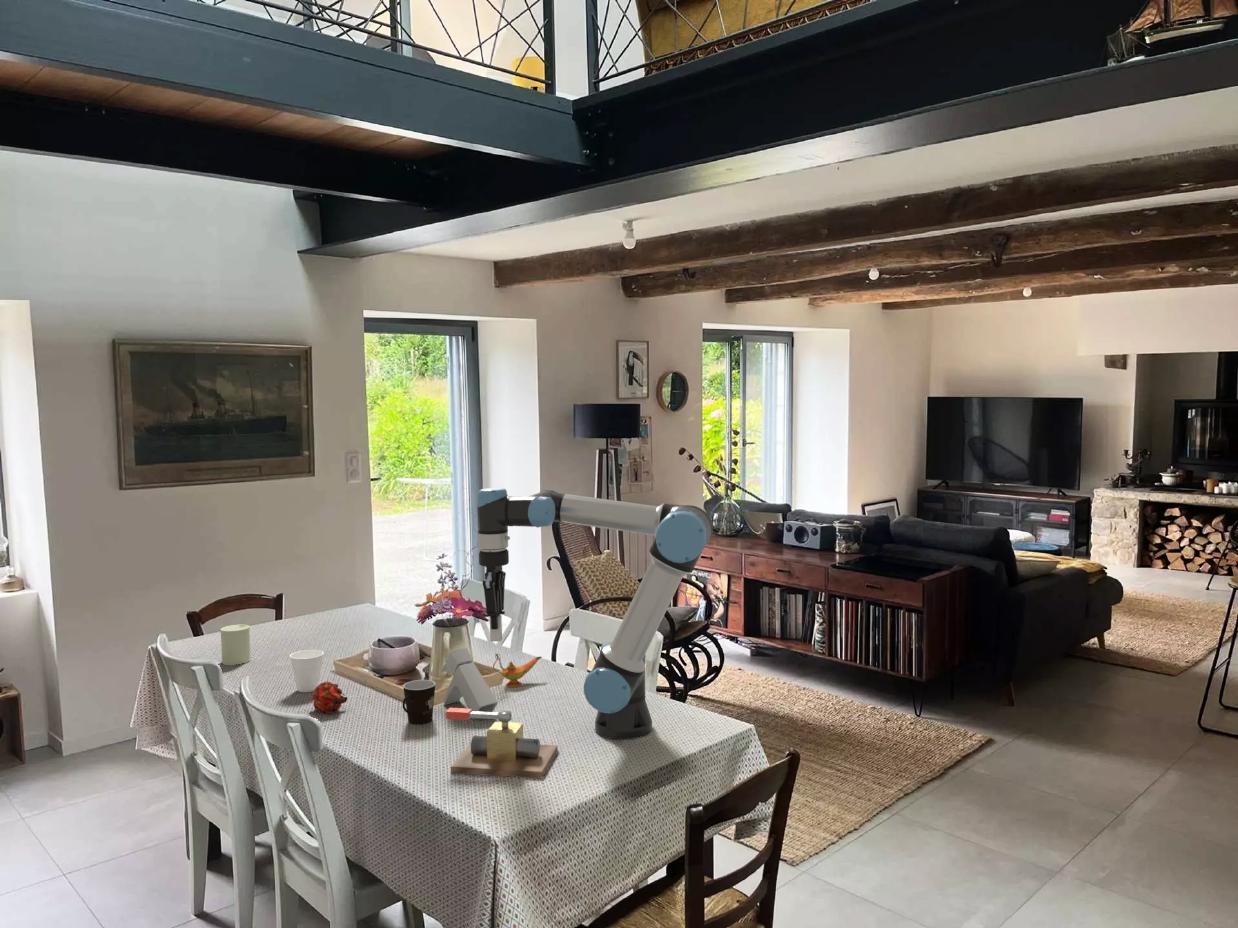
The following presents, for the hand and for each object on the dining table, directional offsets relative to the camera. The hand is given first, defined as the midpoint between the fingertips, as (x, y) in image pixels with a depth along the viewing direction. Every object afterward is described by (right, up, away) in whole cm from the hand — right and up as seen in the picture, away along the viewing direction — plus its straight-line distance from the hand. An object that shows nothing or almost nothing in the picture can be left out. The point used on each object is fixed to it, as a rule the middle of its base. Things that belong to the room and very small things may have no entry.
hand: (496, 640), depth 233 cm
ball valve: (+4, -25, -13) cm, 29 cm away
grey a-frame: (-11, -25, +24) cm, 36 cm away
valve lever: (-2, -17, -12) cm, 21 cm away
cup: (-63, -24, +44) cm, 80 cm away
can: (-98, -22, +74) cm, 125 cm away
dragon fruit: (-51, -25, +26) cm, 62 cm away
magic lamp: (0, -23, +48) cm, 53 cm away
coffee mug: (-24, -25, +15) cm, 38 cm away
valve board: (+4, -27, -12) cm, 30 cm away
